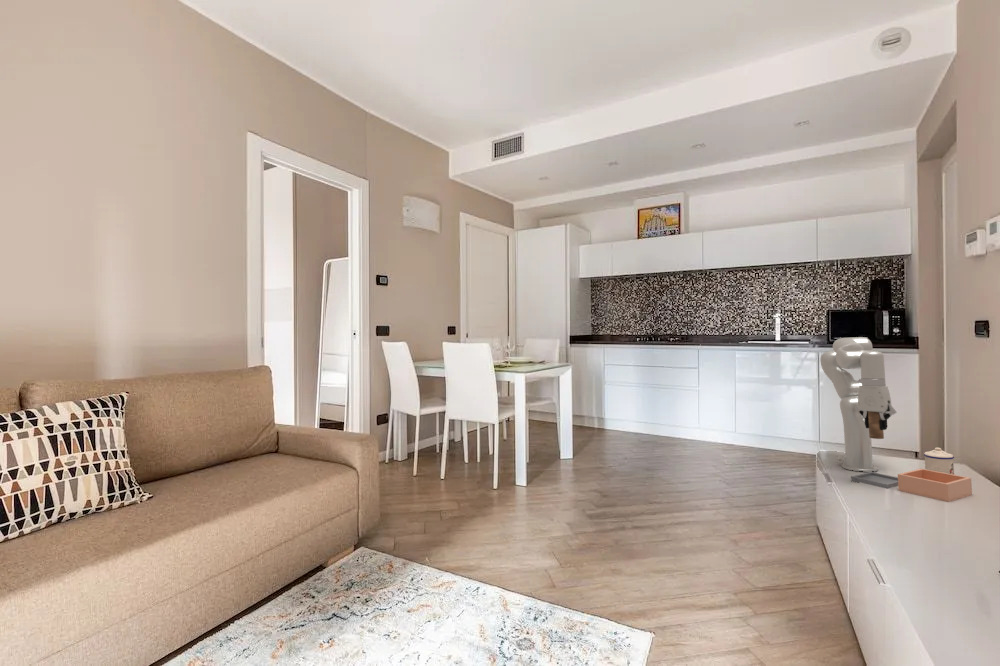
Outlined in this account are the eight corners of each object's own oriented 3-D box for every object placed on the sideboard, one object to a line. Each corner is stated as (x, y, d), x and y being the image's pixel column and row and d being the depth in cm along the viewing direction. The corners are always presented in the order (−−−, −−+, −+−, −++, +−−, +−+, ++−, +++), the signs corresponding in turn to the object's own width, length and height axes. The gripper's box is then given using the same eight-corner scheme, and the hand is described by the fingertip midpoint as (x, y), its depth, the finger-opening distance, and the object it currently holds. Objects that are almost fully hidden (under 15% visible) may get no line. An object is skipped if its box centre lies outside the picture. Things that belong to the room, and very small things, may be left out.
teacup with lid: (957, 481, 188) (956, 451, 188) (927, 478, 193) (925, 449, 193) (950, 473, 198) (949, 445, 198) (921, 471, 203) (920, 443, 203)
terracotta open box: (898, 491, 179) (897, 474, 179) (921, 485, 185) (920, 468, 185) (948, 503, 165) (947, 484, 165) (972, 496, 171) (971, 477, 171)
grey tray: (851, 481, 193) (851, 476, 193) (871, 476, 198) (871, 471, 198) (887, 489, 181) (887, 484, 181) (908, 484, 186) (907, 479, 186)
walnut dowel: (866, 437, 191) (865, 409, 191) (873, 436, 193) (872, 408, 193) (879, 439, 187) (877, 411, 187) (886, 438, 189) (884, 410, 189)
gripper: (845, 382, 197) (847, 426, 196) (891, 384, 181) (894, 433, 181) (856, 380, 200) (859, 424, 199) (903, 383, 184) (906, 431, 184)
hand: (876, 428), depth 190 cm, fingers closed on walnut dowel, 4 cm apart
